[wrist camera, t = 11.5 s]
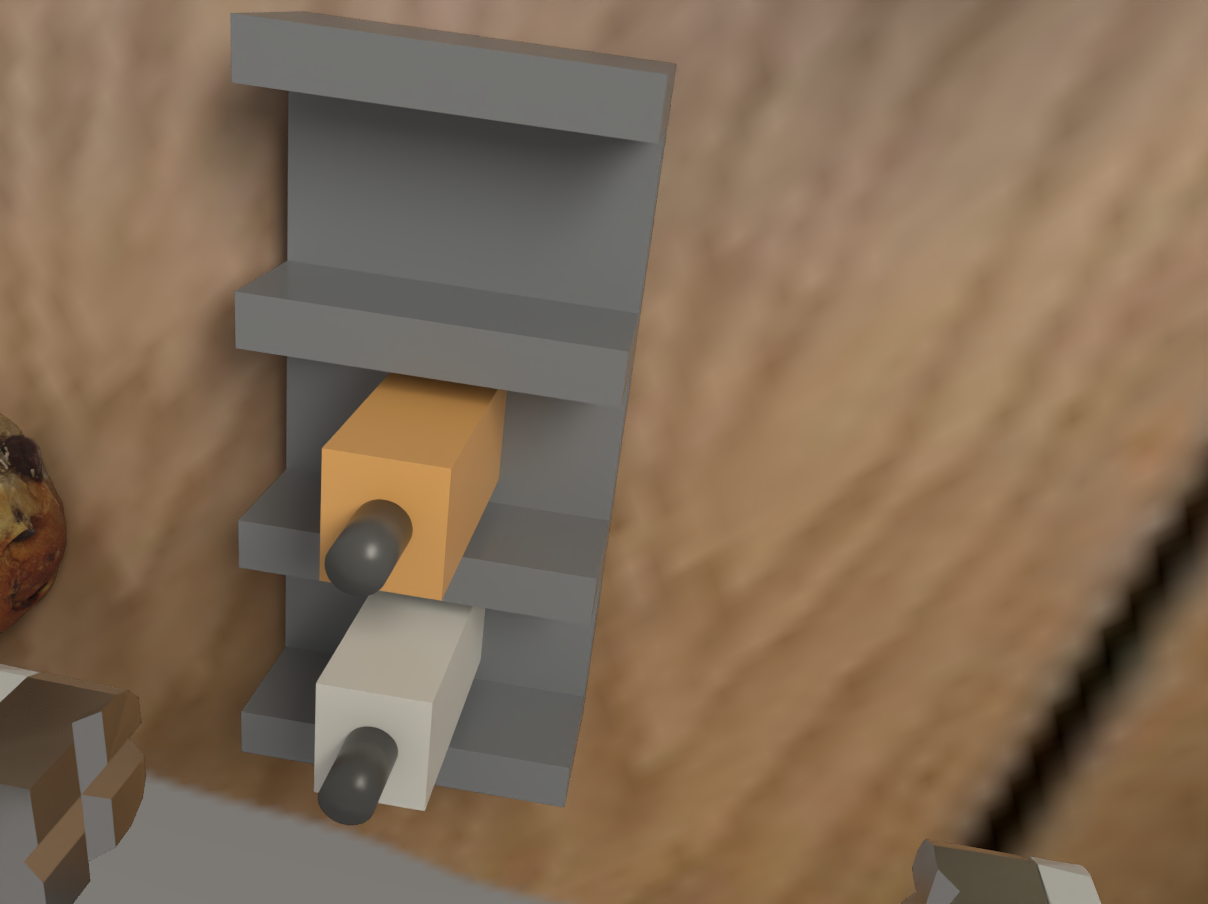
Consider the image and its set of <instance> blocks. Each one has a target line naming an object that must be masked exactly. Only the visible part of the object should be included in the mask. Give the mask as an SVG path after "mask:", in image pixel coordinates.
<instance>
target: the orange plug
mask: <svg viewBox="0 0 1208 904" xmlns="http://www.w3.org/2000/svg"><path fill="white" fill-rule="evenodd" d="M506 396H507V390H501V389H495V388H488V387H482V386H475V385H469V384H463V383H456V382H450V381H443V380H437V379H430V378H424V377H418V376H411V375H405V374H398V373H392V372H390V373H389V374H388V376H387V377H386V378H385V379H384V380H383V381H382V382H381V383H380V384H379V386H378V387H377V388H376V389H375V390H374V391H373V392H372V393H371V394H370V396H369V397H368V398H367V399H366V400H365V401H364V402H363V403H362V404H361V405H360V407H359V408H358V409H357V410H356V411H355V412H354V413H353V414H352V415H351V417H350V418H349V419H348V420H347V421H346V422H345V423H344V424H343V425H342V427H341V428H340V429H339V430H338V431H337V432H336V433H335V434H334V435H333V437H332V438H331V439H330V440H329V441H328V442H327V443H326V444H325V445H324V447H323V448H322V472H321V523H320V573H319V581H325V582H331V583H332V584H333V585H334V586H335V587H337V588H338V589H339V590H341V591H342V592H344V593H346V594H349V595H353V596H369V595H372V594H374V593H376V592H378V591H386V592H392V593H398V594H404V595H410V596H416V597H422V598H428V599H434V600H440V601H442V599H443V597H444V595H445V592H446V590H447V588H448V586H449V584H450V582H451V580H452V578H453V575H454V573H455V571H456V569H457V567H458V565H459V563H460V561H461V559H462V556H463V554H464V552H465V550H466V548H467V546H468V544H469V542H470V539H471V537H472V535H473V533H474V531H475V529H476V527H477V525H478V523H479V520H480V518H481V516H482V514H483V512H484V510H485V508H486V506H487V503H488V501H489V499H490V497H491V495H492V493H493V491H494V489H495V487H496V484H497V482H498V480H499V470H500V460H501V449H502V439H503V428H504V417H505V407H506Z"/></svg>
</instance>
